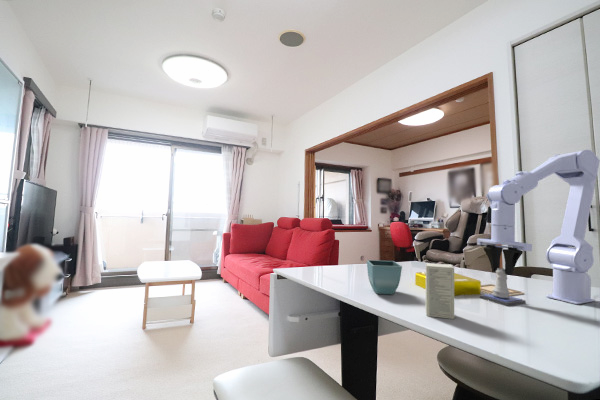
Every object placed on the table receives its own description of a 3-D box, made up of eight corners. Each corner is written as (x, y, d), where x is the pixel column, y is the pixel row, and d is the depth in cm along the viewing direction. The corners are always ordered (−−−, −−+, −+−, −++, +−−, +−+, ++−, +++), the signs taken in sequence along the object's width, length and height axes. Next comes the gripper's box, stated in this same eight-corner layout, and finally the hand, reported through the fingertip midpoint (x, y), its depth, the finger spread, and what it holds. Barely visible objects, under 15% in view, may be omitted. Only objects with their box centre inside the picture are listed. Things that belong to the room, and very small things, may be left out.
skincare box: (452, 314, 76) (452, 264, 76) (454, 320, 72) (455, 267, 72) (424, 310, 78) (425, 262, 78) (425, 316, 74) (426, 265, 74)
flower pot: (402, 297, 90) (402, 266, 90) (371, 296, 90) (372, 265, 90) (393, 289, 98) (393, 260, 99) (365, 288, 99) (366, 259, 99)
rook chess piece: (513, 299, 86) (514, 270, 86) (495, 297, 87) (497, 269, 87) (505, 295, 90) (506, 268, 91) (488, 293, 91) (490, 266, 92)
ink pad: (497, 295, 94) (497, 292, 94) (525, 303, 87) (525, 299, 87) (479, 297, 91) (479, 294, 91) (507, 306, 84) (507, 302, 84)
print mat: (490, 285, 107) (490, 283, 107) (524, 293, 97) (524, 291, 97) (468, 287, 103) (468, 286, 103) (501, 297, 93) (501, 295, 93)
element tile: (441, 297, 92) (441, 281, 92) (412, 284, 107) (412, 270, 107) (484, 295, 95) (484, 280, 95) (450, 283, 110) (450, 270, 110)
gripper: (470, 224, 94) (469, 268, 94) (520, 227, 81) (519, 279, 81) (486, 224, 97) (485, 267, 97) (536, 227, 84) (536, 277, 84)
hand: (502, 273), depth 89 cm, fingers closed on rook chess piece, 3 cm apart
